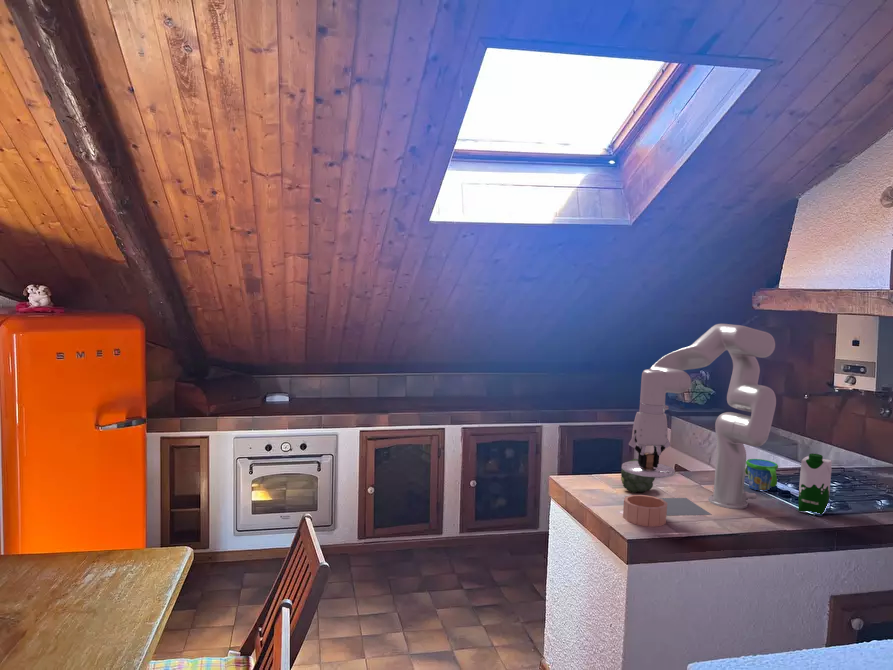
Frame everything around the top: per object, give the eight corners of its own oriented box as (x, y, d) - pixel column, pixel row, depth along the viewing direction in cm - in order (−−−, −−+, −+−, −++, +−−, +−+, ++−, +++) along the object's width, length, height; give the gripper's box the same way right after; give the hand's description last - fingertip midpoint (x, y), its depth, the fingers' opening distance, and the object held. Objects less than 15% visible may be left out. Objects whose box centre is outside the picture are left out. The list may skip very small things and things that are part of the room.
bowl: (654, 512, 229) (655, 494, 229) (673, 526, 216) (674, 508, 216) (616, 513, 227) (617, 495, 227) (633, 527, 214) (634, 508, 214)
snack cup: (785, 496, 253) (787, 468, 252) (757, 495, 252) (759, 468, 251) (762, 483, 268) (764, 457, 267) (736, 482, 267) (737, 456, 266)
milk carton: (794, 512, 235) (799, 453, 233) (801, 505, 242) (806, 449, 240) (823, 518, 230) (828, 458, 228) (830, 512, 236) (835, 454, 235)
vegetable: (645, 477, 262) (667, 470, 249) (630, 505, 257) (651, 499, 243) (620, 457, 262) (640, 449, 249) (604, 484, 257) (623, 477, 243)
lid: (659, 463, 230) (660, 447, 229) (684, 477, 214) (685, 460, 214) (613, 463, 227) (614, 447, 227) (634, 477, 211) (635, 460, 211)
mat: (686, 498, 245) (686, 497, 245) (711, 515, 228) (711, 514, 228) (640, 499, 242) (640, 498, 242) (662, 516, 225) (663, 515, 225)
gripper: (671, 407, 224) (667, 463, 225) (622, 406, 221) (618, 463, 223) (682, 411, 216) (678, 469, 218) (632, 411, 214) (628, 470, 215)
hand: (648, 465), depth 220 cm, fingers closed on lid, 3 cm apart
